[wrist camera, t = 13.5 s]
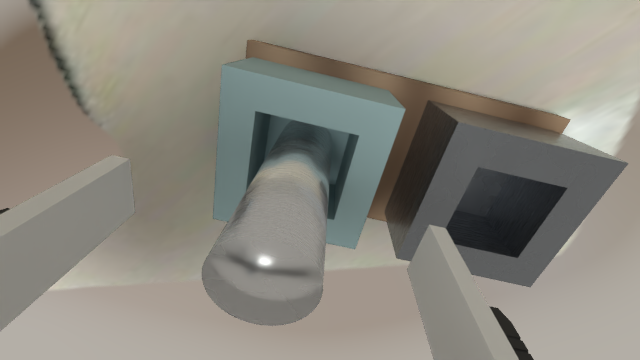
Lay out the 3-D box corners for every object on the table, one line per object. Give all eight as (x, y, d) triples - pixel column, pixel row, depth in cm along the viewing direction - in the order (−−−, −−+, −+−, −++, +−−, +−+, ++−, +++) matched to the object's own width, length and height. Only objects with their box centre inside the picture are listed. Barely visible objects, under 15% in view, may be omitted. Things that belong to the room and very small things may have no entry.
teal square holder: (240, 179, 25) (212, 218, 19) (252, 57, 20) (221, 64, 15) (351, 204, 25) (354, 249, 20) (388, 90, 21) (405, 109, 15)
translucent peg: (276, 160, 23) (200, 312, 10) (284, 111, 21) (203, 224, 8) (325, 171, 23) (309, 334, 10) (337, 124, 21) (335, 252, 9)
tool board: (238, 179, 27) (233, 187, 25) (253, 39, 21) (247, 40, 20) (483, 234, 28) (490, 244, 26) (556, 114, 22) (570, 119, 21)
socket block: (384, 211, 25) (396, 258, 20) (428, 100, 21) (458, 122, 16) (490, 235, 26) (530, 287, 21) (556, 131, 21) (628, 163, 16)
